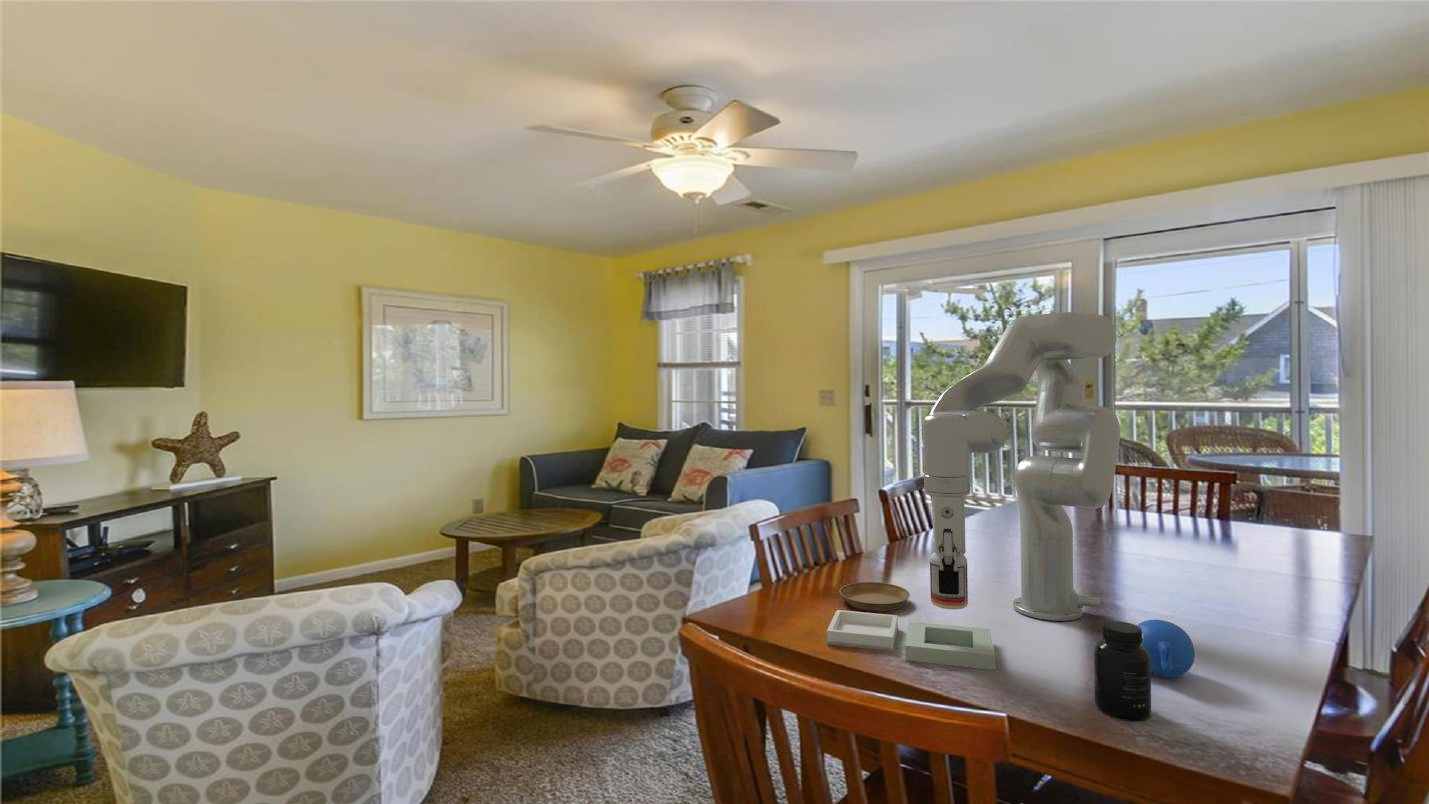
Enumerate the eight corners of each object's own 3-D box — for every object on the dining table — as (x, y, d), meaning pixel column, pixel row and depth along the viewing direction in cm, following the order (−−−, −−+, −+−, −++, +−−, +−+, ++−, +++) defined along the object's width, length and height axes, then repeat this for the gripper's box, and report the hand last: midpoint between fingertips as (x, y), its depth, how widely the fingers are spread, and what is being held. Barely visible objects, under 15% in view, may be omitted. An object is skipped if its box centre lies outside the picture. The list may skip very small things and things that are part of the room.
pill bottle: (943, 596, 118) (941, 534, 118) (975, 604, 114) (973, 539, 114) (923, 604, 115) (922, 540, 114) (955, 613, 110) (954, 546, 110)
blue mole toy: (1099, 653, 112) (1099, 604, 112) (1183, 663, 107) (1182, 612, 107) (1112, 682, 101) (1111, 628, 101) (1205, 695, 96) (1205, 638, 96)
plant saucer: (920, 614, 134) (920, 601, 134) (850, 617, 133) (850, 604, 133) (896, 592, 149) (895, 580, 149) (832, 594, 148) (832, 583, 148)
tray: (897, 628, 126) (897, 615, 125) (893, 651, 115) (893, 637, 115) (837, 622, 129) (836, 609, 129) (827, 644, 118) (826, 630, 118)
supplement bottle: (1083, 700, 96) (1082, 618, 95) (1127, 697, 96) (1127, 616, 96) (1116, 724, 89) (1115, 636, 88) (1163, 721, 89) (1163, 633, 89)
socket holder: (990, 642, 118) (989, 629, 117) (994, 670, 106) (994, 655, 106) (909, 634, 122) (908, 621, 122) (905, 660, 111) (905, 645, 111)
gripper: (971, 493, 104) (974, 605, 105) (968, 478, 121) (970, 575, 121) (922, 492, 107) (924, 601, 107) (925, 477, 123) (927, 572, 124)
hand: (948, 586), depth 114 cm, fingers closed on pill bottle, 6 cm apart
